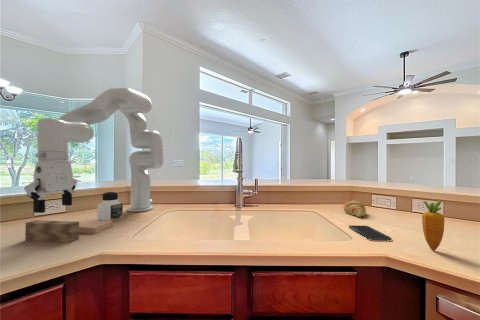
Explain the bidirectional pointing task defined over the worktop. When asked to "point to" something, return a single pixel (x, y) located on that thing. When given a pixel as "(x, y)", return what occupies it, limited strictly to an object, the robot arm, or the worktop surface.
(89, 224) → the tile
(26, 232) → the brown wooden block
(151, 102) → the robot arm
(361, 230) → the phone
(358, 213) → the croissant
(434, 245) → the carrot
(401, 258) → the worktop surface
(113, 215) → the medicine bottle
